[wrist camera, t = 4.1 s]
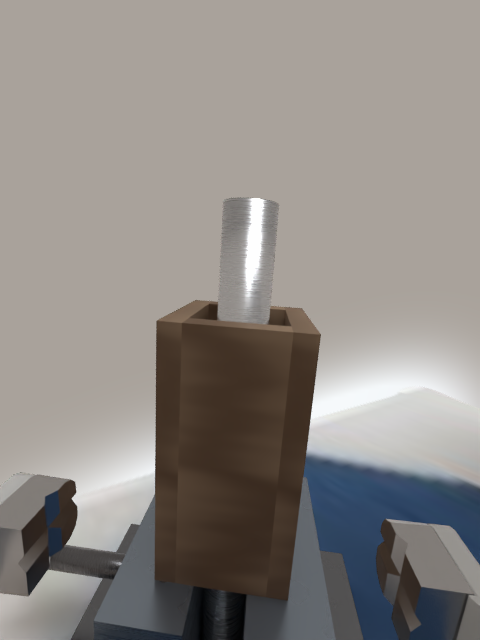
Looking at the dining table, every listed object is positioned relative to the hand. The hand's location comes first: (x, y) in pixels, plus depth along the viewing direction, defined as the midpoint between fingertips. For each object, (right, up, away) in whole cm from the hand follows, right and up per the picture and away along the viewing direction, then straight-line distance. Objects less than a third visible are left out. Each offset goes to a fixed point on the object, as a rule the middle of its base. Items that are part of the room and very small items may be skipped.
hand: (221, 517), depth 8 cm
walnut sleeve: (0, -4, +6) cm, 7 cm away
